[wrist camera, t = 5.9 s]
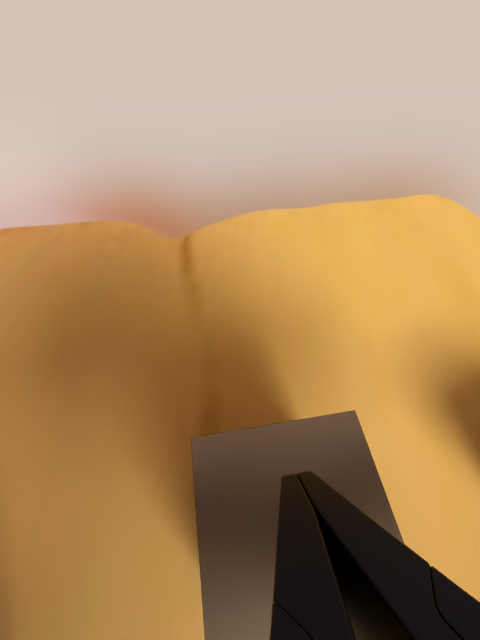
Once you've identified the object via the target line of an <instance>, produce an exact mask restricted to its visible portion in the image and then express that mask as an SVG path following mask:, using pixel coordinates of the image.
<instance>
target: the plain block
mask: <svg viewBox="0 0 480 640" xmlns="http://www.w3.org/2000/svg"><path fill="white" fill-rule="evenodd" d="M191 447H192V461H193V475H194V490H195V504H196V518H197V533H198V547H199V561H200V576H201V590H202V604H203V619H204V633H205V640H269V638H270V628H271V614H272V604H273V589H274V575H275V560H276V546H277V532H278V518H279V503H280V489H281V477H282V476H283V475H289V474H296V475H297V473H299V472H305V471H312V472H313V473H314V474H316V475H317V476H318V477H320V478H321V479H322V480H323V481H325V482H326V483H327V484H328V485H330V486H331V487H332V488H334V489H335V490H336V491H337V492H339V493H340V494H341V495H342V496H344V497H345V498H346V499H348V500H349V501H350V502H351V503H353V504H354V505H355V506H356V507H358V508H359V509H360V510H362V511H363V512H364V513H365V514H367V515H368V516H369V517H370V518H372V519H373V520H374V521H376V522H377V523H378V524H379V525H381V526H382V527H383V528H384V529H386V530H387V531H388V532H390V533H391V534H392V535H393V536H395V537H396V538H397V539H398V540H400V541H401V542H402V543H404V542H403V539H402V537H401V534H400V531H399V528H398V526H397V523H396V520H395V518H394V515H393V512H392V509H391V507H390V504H389V501H388V499H387V496H386V493H385V490H384V488H383V485H382V482H381V480H380V477H379V474H378V471H377V469H376V466H375V463H374V461H373V458H372V455H371V453H370V450H369V447H368V444H367V442H366V439H365V436H364V434H363V431H362V428H361V425H360V423H359V420H358V417H357V415H356V412H355V410H353V411H348V412H342V413H336V414H330V415H324V416H318V417H312V418H306V419H300V420H294V421H288V422H282V423H276V424H270V425H264V426H259V427H253V428H247V429H241V430H235V431H229V432H223V433H217V434H211V435H205V436H199V437H193V438H191Z"/></svg>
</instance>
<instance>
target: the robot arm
mask: <svg viewBox="0 0 480 640" xmlns="http://www.w3.org/2000/svg"><path fill="white" fill-rule="evenodd" d="M269 640H480V602H479V601H477V600H476V599H475V598H473V597H472V596H471V595H469V594H468V593H467V592H465V591H464V590H463V589H461V588H460V587H459V586H457V585H456V584H455V583H453V582H452V581H451V580H450V579H448V578H447V577H446V576H444V575H443V574H442V573H441V572H439V571H438V570H437V569H436V568H434V567H433V566H431V567H430V565H429V563H428V562H426V561H425V560H424V559H423V558H421V557H420V556H419V555H418V554H416V553H415V552H414V551H412V550H411V549H410V548H409V547H407V546H406V545H405V544H404V543H402V542H401V541H400V540H398V539H397V538H396V537H395V536H393V535H392V534H391V533H390V532H388V531H387V530H386V529H384V528H383V527H382V526H381V525H379V524H378V523H377V522H376V521H374V520H373V519H372V518H370V517H369V516H368V515H367V514H365V513H364V512H363V511H362V510H360V509H359V508H358V507H356V506H355V505H354V504H353V503H351V502H350V501H349V500H348V499H346V498H345V497H344V496H342V495H341V494H340V493H339V492H337V491H336V490H335V489H334V488H332V487H331V486H330V485H328V484H327V483H326V482H325V481H323V480H322V479H321V478H320V477H318V476H317V475H316V474H314V473H313V472H312V471H305V472H299V473H297V475H296V474H289V475H283V476H282V477H281V489H280V503H279V518H278V532H277V546H276V560H275V575H274V589H273V604H272V614H271V628H270V638H269Z"/></svg>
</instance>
